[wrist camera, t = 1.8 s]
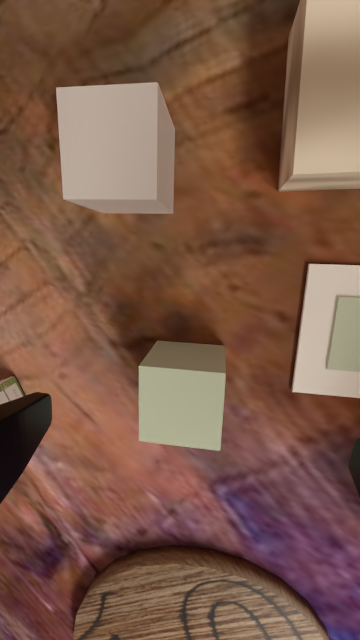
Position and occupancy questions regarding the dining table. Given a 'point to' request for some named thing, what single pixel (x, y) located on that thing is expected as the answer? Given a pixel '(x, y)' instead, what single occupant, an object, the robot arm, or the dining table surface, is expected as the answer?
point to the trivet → (192, 600)
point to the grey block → (116, 148)
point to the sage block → (182, 394)
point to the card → (329, 332)
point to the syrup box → (10, 390)
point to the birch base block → (322, 98)
